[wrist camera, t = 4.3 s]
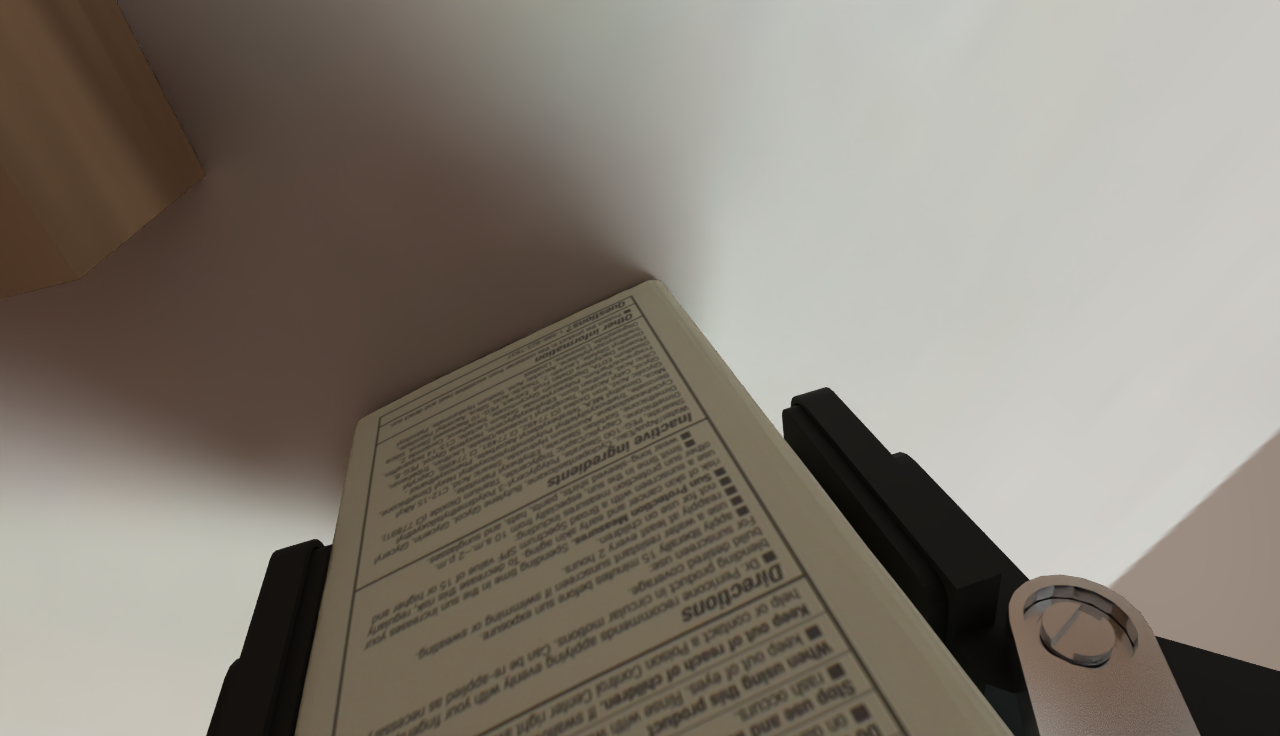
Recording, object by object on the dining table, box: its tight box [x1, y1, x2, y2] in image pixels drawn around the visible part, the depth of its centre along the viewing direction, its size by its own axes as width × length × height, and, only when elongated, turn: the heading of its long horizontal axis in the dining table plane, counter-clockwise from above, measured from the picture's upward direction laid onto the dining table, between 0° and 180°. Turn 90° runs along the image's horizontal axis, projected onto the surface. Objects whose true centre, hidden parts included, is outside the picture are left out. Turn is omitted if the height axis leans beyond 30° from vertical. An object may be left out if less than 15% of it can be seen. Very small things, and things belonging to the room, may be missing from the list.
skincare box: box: [294, 280, 1014, 736], centre depth 8 cm, size 6×4×12 cm
